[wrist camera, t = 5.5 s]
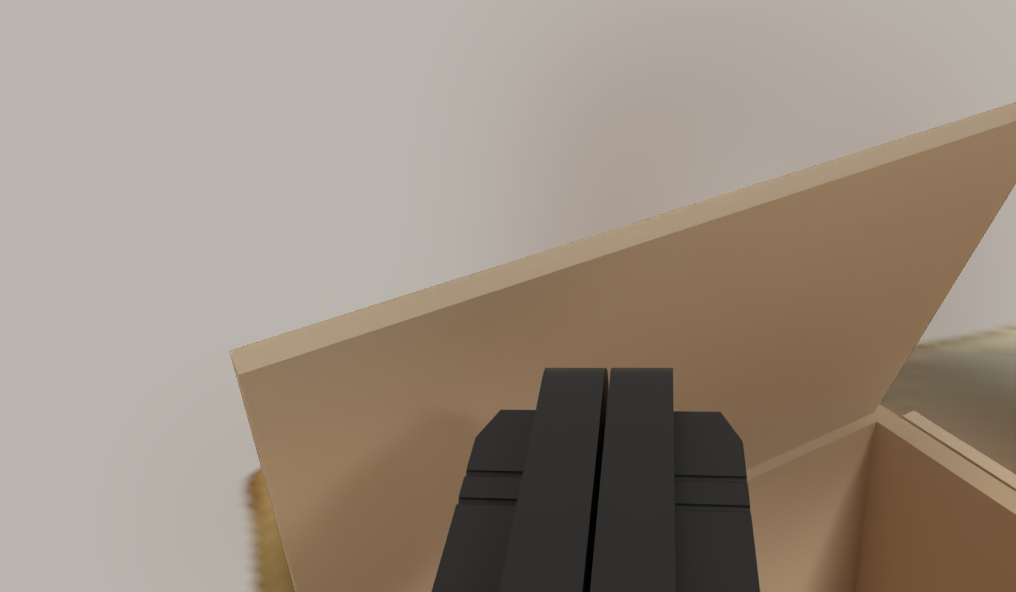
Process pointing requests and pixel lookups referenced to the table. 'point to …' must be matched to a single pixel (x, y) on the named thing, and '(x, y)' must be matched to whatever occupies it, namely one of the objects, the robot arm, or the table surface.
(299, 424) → the front flap
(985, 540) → the carton
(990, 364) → the table surface
